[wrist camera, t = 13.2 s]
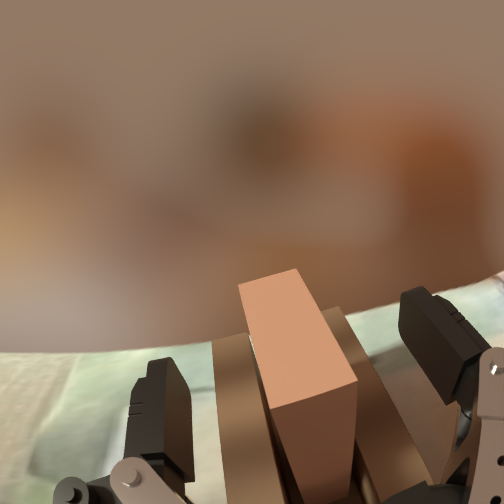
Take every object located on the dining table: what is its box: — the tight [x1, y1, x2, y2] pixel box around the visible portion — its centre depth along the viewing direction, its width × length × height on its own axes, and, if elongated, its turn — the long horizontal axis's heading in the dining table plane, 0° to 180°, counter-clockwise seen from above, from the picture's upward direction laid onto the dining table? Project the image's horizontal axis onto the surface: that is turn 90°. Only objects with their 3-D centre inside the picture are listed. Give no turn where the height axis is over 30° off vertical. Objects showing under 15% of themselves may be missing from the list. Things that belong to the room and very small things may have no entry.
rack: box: [212, 306, 435, 504], centre depth 14 cm, size 18×9×6 cm, turn 8°
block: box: [238, 269, 358, 504], centre depth 13 cm, size 6×2×12 cm, turn 10°
